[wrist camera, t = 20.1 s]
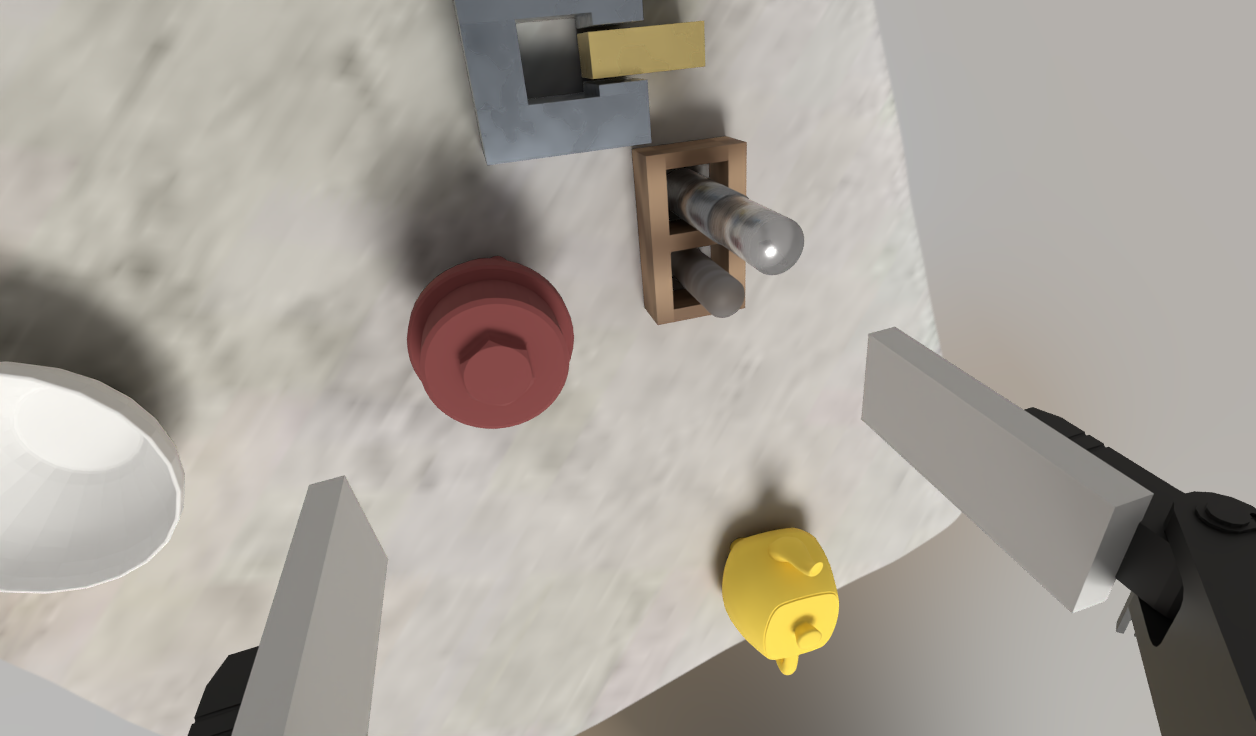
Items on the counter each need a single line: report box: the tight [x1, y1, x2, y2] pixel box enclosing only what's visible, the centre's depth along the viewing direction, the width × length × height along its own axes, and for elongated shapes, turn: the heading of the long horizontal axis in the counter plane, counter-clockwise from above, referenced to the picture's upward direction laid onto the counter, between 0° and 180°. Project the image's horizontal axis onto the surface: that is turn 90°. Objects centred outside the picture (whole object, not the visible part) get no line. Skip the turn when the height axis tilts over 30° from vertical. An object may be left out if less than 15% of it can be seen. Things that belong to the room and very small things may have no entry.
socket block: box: [453, 0, 651, 165], centre depth 35 cm, size 10×10×5 cm
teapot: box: [722, 528, 839, 675], centre depth 59 cm, size 18×11×11 cm, turn 1°
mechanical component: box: [407, 256, 574, 429], centre depth 38 cm, size 12×10×10 cm
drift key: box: [577, 21, 705, 79], centre depth 36 cm, size 2×7×4 cm, turn 95°
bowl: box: [0, 361, 185, 593], centre depth 37 cm, size 16×16×7 cm
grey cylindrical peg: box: [666, 168, 804, 275], centre depth 37 cm, size 3×3×15 cm
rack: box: [632, 136, 747, 325], centre depth 41 cm, size 12×7×8 cm, turn 5°
